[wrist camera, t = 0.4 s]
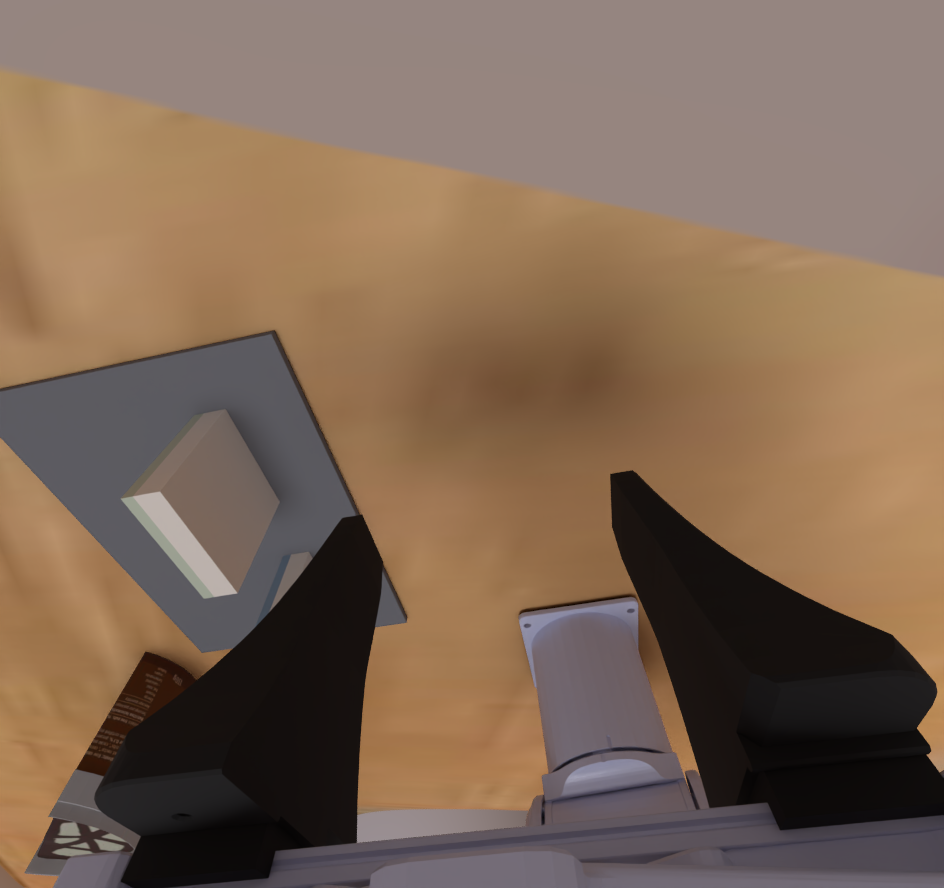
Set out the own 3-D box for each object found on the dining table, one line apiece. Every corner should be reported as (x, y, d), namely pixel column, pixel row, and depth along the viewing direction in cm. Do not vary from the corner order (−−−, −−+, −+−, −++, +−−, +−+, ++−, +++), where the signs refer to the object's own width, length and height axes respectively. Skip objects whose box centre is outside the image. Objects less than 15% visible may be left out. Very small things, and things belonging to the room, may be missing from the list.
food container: (191, 733, 41) (124, 888, 33) (114, 715, 39) (23, 875, 31) (237, 666, 35) (170, 832, 27) (150, 641, 33) (49, 813, 25)
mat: (407, 617, 32) (406, 622, 32) (204, 647, 34) (202, 652, 34) (274, 330, 21) (271, 334, 20) (-28, 395, 22) (-36, 399, 22)
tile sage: (279, 502, 26) (237, 593, 21) (252, 507, 26) (203, 598, 21) (225, 408, 22) (159, 491, 17) (194, 415, 23) (120, 498, 18)
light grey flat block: (344, 612, 31) (323, 705, 26) (321, 616, 31) (296, 708, 27) (308, 551, 28) (276, 644, 23) (283, 555, 28) (246, 649, 23)
